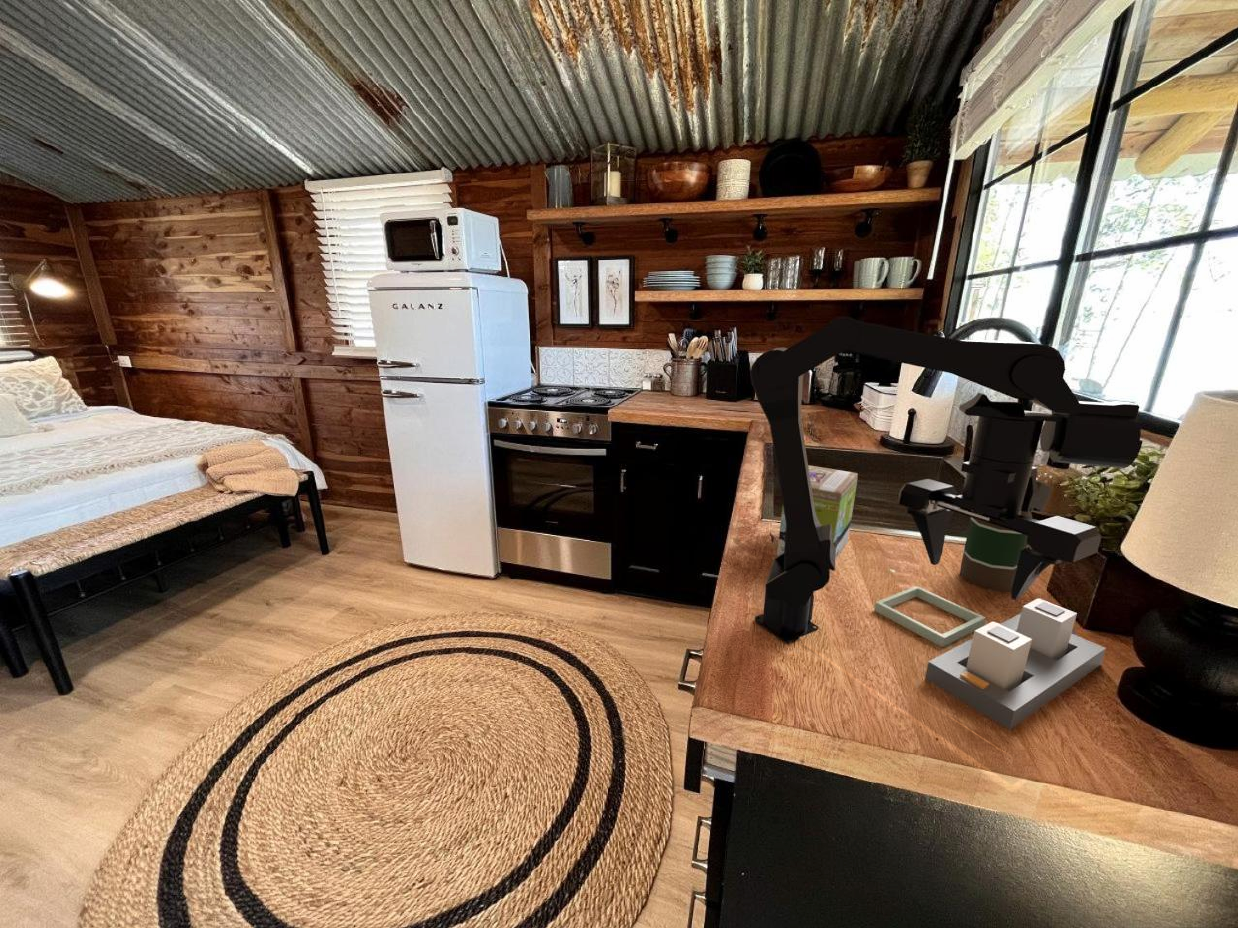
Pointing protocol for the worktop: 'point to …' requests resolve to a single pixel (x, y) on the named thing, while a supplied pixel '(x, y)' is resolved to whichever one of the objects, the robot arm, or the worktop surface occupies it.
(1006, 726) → the strip
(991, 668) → the iec plug
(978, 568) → the beer bottle
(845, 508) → the tea box
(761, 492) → the worktop surface
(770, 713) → the worktop surface
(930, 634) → the tray
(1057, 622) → the twin plug
